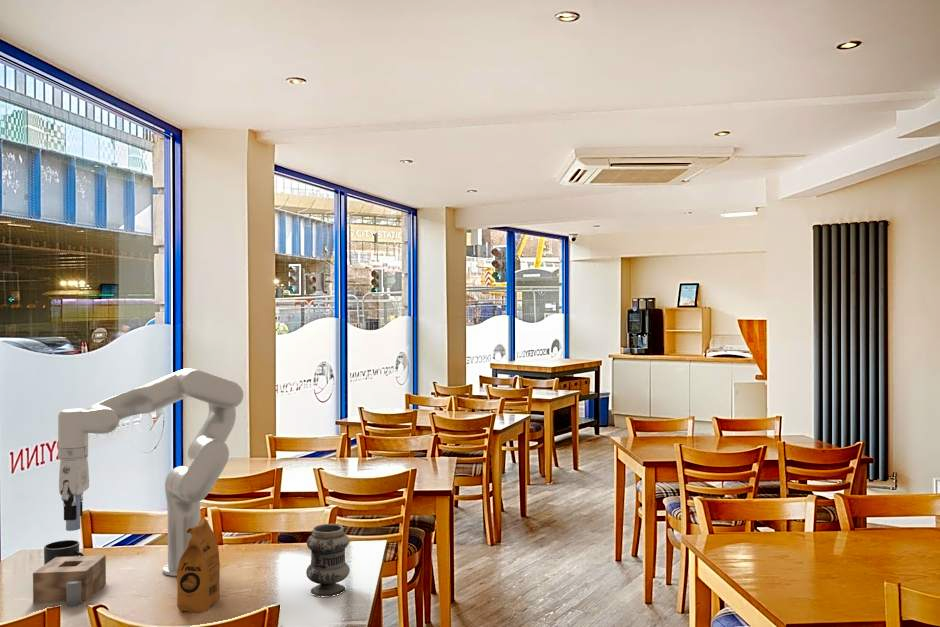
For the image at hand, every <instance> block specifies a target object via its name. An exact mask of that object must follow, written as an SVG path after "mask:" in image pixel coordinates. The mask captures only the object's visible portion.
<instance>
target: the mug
mask: <svg viewBox="0 0 940 627" xmlns="http://www.w3.org/2000/svg"><path fill="white" fill-rule="evenodd" d="M43 554H44V555H43V558H44V559H43V566H44V565H45V564H47V563H48V562H50V561H51V560H52V559H54V558H55V557H72V556H85V554H84V553H82V552H81V551H80V542H79V541H78V540H73V539H68V540H67V539H66V540H58V541H57V540H56V541H54V542H50V543H47V544H45V546H44V548H43Z"/></svg>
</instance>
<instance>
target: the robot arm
mask: <svg viewBox="0 0 940 627" xmlns="http://www.w3.org/2000/svg"><path fill="white" fill-rule="evenodd" d="M188 397H189V398H193V399H195V400H199V401H201V402H205V403H207V404H208V415H207V418H206V420H205V421H204V423H203V425H202V426H201V428H200V430H199V431H198V432H197V434H196V436H195V437H194V439H193V440H192V442H191V443H190V444H189V447H188V448H187V457H188V460H190V462H191V464H190V465H189V466H186V465H180V466H176V467H174V468H173V469H171V470H170V471H169V472H168V474H167V475H166V478H165V482H164V492H165V498H166V506H167V507H166V508H167V509H166V510H167V520H166V521H167V564H166V565H165V564H164V566H162V573H163V574H164V575H166V576H172V577H177V569H178V564H179V561H180V558H181V557H182V555H183V553H184V551H185V550H186V549H187V547H188V544H189V541H190V539H191V537H192V536H191V533H187V530H188V529H189V528H192V527H195V526H198V525H199V521H200V520H201V503H200V502H202V500H204V499H205V498H206V497H207V496H208V495H209V493H210V492H211V490H212V489H213V487H214V486H215V484H216V482H217V481H218V479H219V478H220V475H221V474H222V472H223V471H224V469H225V467H226V466H227V464H228V460H229V458H230V457H229V456H230V452H229V447H228V444H227V443H226V441H227V440H228V438H229V435H230V434H231V432H232V431H233V428H234V426H235V422H236V418H237V417H236V416H237V412H236V408H237V407H239V406H240V404H241V403H242V401H243V399H244V390H243V389H242V387H241V386H240V385H239V384H238V383H237V382H235V381H232V380H228V379H226V378H222V377H220V376H216V375H214V374H210V373H209V372H207V371H202V370H200V369H196V368H195V369H194V368H189V367H188V368H183V369H180V370H177V371H175V372H173V373H170V374H168V375H165V376H163V377H160V378H159V379H156V380H154V381H151V382H149V383H147V384H144V385H142V386H139V387H136V388H132V389H131V390H128V391H125V392H122V393H119V394H117V395H113V396H111V397H108V398H106V399H104V400H102V401H100V402H98V403H95V404H92V405H91V406H90V407H89V408H87V409H84V408H68V409H63V410H61V411H60V412H59V413H58V415H57V416H58V417H57V419H58V421H57V424H58V425H57V430H58V431H57V432H58V433H57V438H58V440H57V442H58V443H57V444H58V445H57V446H58V448H57V449H58V451H57V457H58V458H57V460H58V461H60V463H59V473H58V474H59V475H58V492H59V495H60V496H61V497H60V498H61V501H62V502H63V503H62V504H63V520H64V521H65V522H66V520H76V519H77V505H75V499H76V495H79V494H80V517H82V516H83V500H84V492H85V491H87V490H88V489H89V488H90V476H89V474H90V472H89V461H88V458H89V434H98V435H102V434H103V435H105V434H110V433H112V432H114V431H115V430H116V429H117V428H118V427H119V425H120V421H121V420H123V419H126V418H129V417H133V416H136V415H141V414H142V415H143V414H150V413H154V412H157V411H159V410H162V409H164V408H166V407H168V406H170V405H173V404H175V403H177V402H180V401H181V400H184V399H186V398H188ZM70 492H71V493H72V494H71V495H68V494H69V493H70ZM69 497H72V499H71V498H69Z"/></svg>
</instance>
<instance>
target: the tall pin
mask: <svg viewBox="0 0 940 627" xmlns="http://www.w3.org/2000/svg"><path fill="white" fill-rule="evenodd" d="M71 494H72V493H71V492H70V493H69V494H68V495H71ZM69 498H71V499H72V497H69ZM75 505H77V519H76V520H66V521H65V531H68V532H74V531H79V530H80V529H81V516H80V494H79V495H76V499H75Z"/></svg>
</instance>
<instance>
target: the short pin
mask: <svg viewBox="0 0 940 627" xmlns="http://www.w3.org/2000/svg"><path fill="white" fill-rule="evenodd" d="M66 596H67V601H66V607H68V608H74V606H76V607H78V605H79V606H80V605H82V604H81V603H82V601H83V600H81V581H80V580H74V581H70V582H67V583H66Z"/></svg>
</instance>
